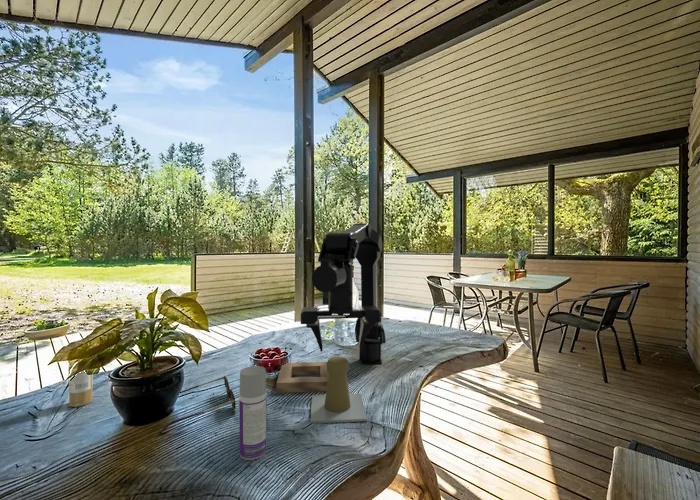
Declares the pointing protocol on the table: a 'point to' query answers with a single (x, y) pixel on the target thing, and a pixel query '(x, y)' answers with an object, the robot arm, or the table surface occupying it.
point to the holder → (304, 383)
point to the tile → (325, 416)
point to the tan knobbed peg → (337, 385)
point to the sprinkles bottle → (80, 389)
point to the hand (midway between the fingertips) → (340, 350)
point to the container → (253, 412)
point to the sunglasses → (232, 401)
